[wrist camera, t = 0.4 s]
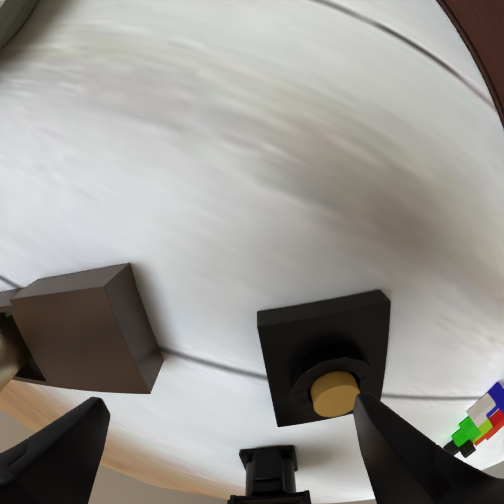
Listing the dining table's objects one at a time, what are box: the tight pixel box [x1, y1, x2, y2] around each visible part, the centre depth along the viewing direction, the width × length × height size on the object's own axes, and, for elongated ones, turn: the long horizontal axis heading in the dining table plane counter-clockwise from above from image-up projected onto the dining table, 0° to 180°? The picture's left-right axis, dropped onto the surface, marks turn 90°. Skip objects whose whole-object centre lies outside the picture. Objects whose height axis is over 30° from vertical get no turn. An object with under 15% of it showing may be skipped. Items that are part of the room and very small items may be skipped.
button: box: [311, 371, 360, 417], centre depth 19 cm, size 4×4×2 cm
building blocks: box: [444, 382, 504, 458], centre depth 27 cm, size 15×13×4 cm
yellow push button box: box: [257, 290, 391, 427], centre depth 22 cm, size 12×10×4 cm
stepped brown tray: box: [0, 263, 164, 394], centre depth 21 cm, size 9×20×4 cm, turn 100°
